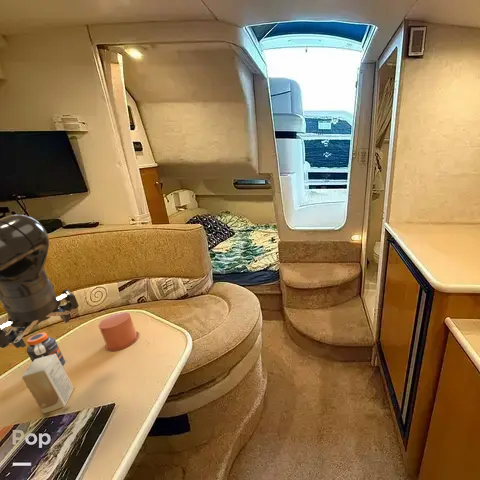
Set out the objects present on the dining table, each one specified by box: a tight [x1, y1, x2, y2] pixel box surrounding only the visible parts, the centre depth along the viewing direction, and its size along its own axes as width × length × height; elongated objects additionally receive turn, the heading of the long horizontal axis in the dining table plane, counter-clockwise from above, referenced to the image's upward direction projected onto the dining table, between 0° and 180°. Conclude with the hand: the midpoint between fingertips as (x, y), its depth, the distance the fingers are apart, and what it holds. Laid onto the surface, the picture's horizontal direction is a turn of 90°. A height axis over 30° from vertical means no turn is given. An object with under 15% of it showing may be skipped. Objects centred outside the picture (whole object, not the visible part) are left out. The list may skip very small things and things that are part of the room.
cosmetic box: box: [21, 354, 75, 414], centre depth 67 cm, size 6×4×12 cm
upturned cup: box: [97, 311, 140, 353], centre depth 88 cm, size 9×9×9 cm
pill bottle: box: [26, 332, 66, 367], centre depth 78 cm, size 6×6×11 cm
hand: (44, 331), depth 65 cm, fingers open, 8 cm apart
